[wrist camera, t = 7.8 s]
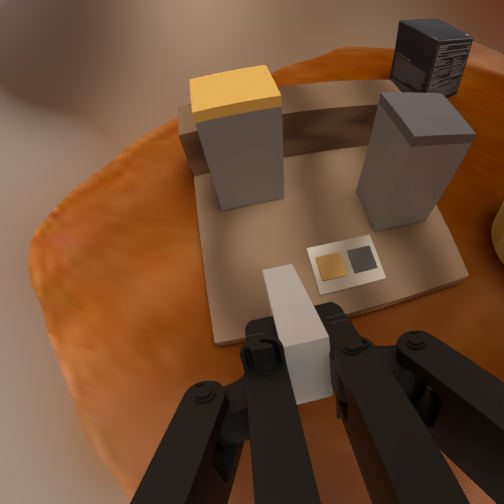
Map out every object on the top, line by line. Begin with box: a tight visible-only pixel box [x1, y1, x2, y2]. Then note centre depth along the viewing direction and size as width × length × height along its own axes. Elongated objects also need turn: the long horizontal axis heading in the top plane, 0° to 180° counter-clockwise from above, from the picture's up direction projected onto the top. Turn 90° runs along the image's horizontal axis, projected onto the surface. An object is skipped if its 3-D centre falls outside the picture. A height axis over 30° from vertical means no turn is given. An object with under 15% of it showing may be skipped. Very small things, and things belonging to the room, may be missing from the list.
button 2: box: [190, 65, 284, 211], centre depth 21 cm, size 5×4×10 cm
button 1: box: [356, 92, 476, 232], centre depth 18 cm, size 5×4×10 cm
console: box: [178, 80, 469, 347], centre depth 22 cm, size 20×19×6 cm
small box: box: [389, 19, 473, 98], centre depth 28 cm, size 11×6×10 cm, turn 121°
